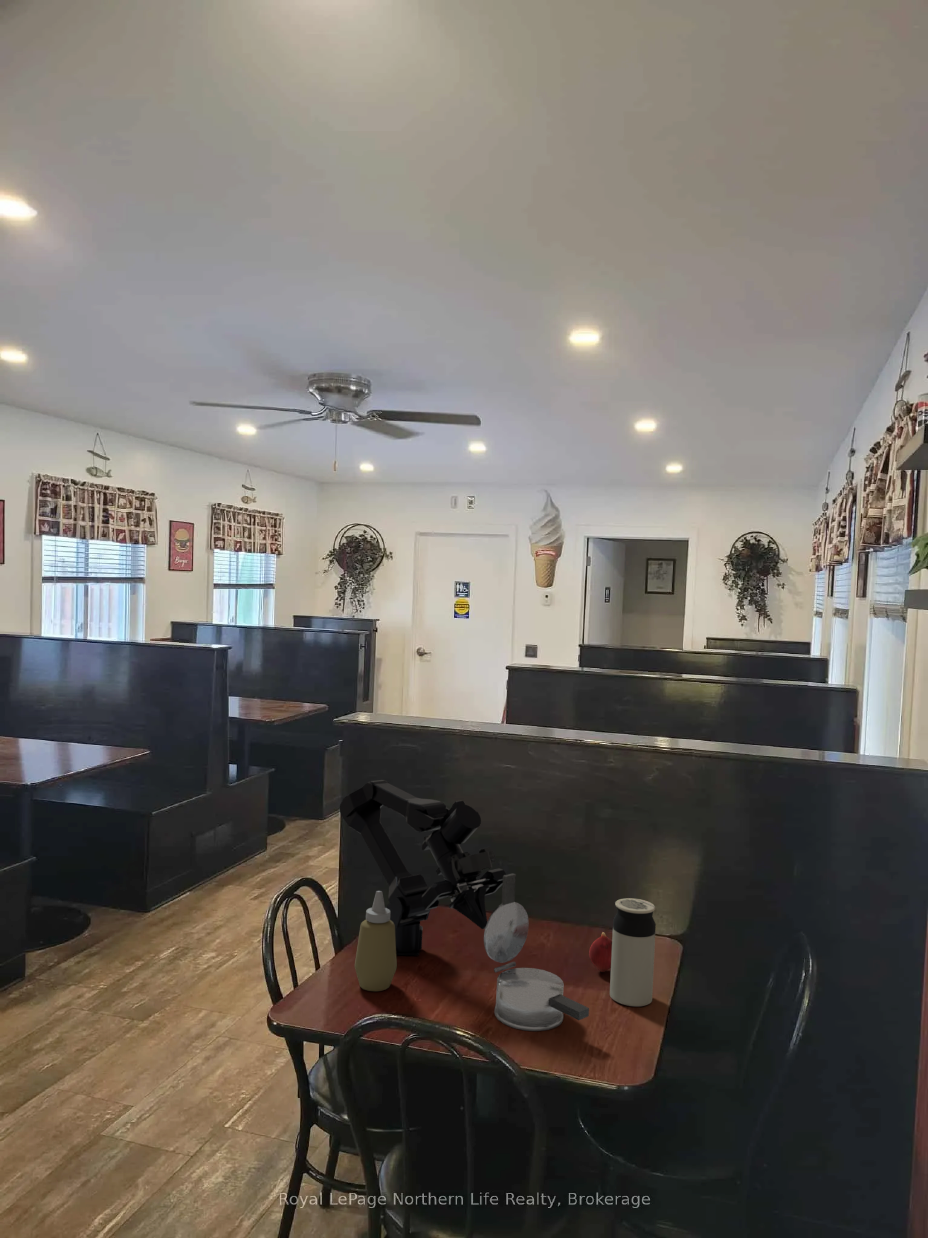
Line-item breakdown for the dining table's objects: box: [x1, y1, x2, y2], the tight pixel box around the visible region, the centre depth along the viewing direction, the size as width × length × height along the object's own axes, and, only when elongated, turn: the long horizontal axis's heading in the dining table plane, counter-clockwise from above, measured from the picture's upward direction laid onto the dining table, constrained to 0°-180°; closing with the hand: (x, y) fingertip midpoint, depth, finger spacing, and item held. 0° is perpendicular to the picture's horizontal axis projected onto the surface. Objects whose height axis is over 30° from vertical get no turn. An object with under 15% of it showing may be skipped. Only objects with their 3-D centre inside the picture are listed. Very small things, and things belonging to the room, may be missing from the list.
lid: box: [483, 873, 529, 973], centre depth 159 cm, size 18×11×1 cm
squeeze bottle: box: [354, 890, 398, 992], centre depth 163 cm, size 8×8×18 cm
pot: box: [494, 967, 590, 1032], centre depth 151 cm, size 19×12×6 cm, turn 42°
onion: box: [588, 931, 612, 973], centre depth 174 cm, size 6×6×8 cm
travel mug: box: [609, 897, 657, 1008], centre depth 162 cm, size 8×8×18 cm
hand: (485, 928), depth 163 cm, fingers closed
